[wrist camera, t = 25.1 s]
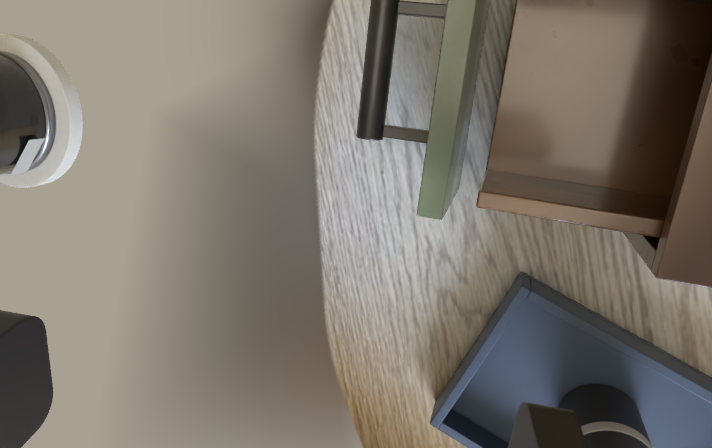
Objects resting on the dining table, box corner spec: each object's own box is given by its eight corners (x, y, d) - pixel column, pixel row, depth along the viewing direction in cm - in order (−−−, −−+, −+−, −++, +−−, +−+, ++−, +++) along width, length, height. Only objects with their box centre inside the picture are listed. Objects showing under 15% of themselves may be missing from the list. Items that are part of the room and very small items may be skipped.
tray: (434, 402, 37) (429, 424, 35) (521, 271, 33) (521, 285, 31) (668, 544, 35) (679, 577, 33) (790, 421, 31) (811, 448, 29)
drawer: (371, 175, 34) (330, 200, 26) (397, -48, 30) (359, -90, 23) (707, 229, 29) (772, 278, 22) (784, -24, 26) (891, -68, 18)
